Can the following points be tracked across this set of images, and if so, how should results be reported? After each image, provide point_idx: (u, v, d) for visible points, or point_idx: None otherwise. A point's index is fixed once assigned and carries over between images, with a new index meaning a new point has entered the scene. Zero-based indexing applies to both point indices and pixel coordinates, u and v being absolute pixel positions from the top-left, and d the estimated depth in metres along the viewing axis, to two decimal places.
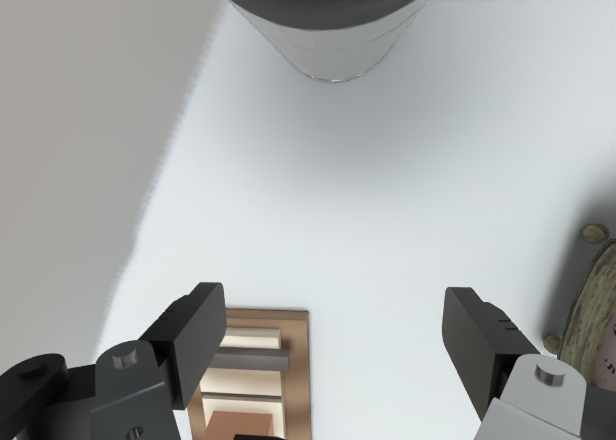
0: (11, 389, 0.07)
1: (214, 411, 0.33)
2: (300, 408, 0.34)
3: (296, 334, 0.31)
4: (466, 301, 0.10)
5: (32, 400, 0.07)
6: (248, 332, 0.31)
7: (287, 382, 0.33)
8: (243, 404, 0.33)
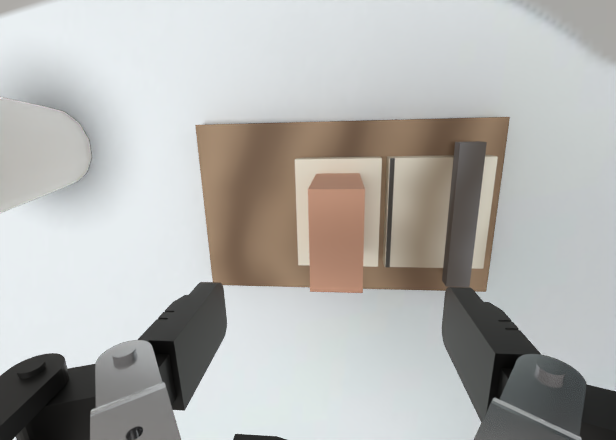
0: (11, 389, 0.07)
1: (357, 174, 0.23)
2: None
3: None
4: (466, 301, 0.10)
5: (32, 400, 0.07)
6: None
7: None
8: (373, 217, 0.24)
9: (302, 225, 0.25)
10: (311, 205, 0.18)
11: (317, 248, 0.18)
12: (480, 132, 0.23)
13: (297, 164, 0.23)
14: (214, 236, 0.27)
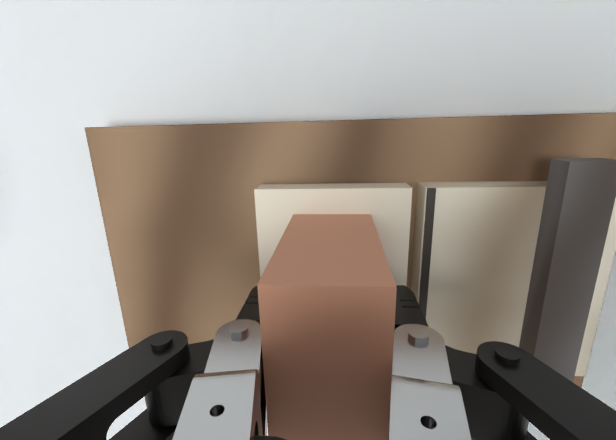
0: (142, 357, 0.08)
1: (366, 216, 0.13)
2: None
3: None
4: None
5: (153, 374, 0.07)
6: None
7: None
8: None
9: None
10: (267, 319, 0.08)
11: (284, 408, 0.08)
12: (589, 140, 0.13)
13: (259, 198, 0.13)
14: (131, 308, 0.17)
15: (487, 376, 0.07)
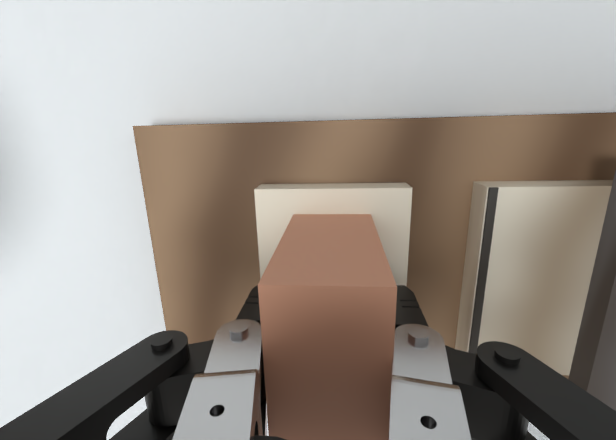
0: (142, 357, 0.08)
1: (366, 216, 0.13)
2: None
3: None
4: None
5: (153, 374, 0.07)
6: None
7: None
8: None
9: None
10: (268, 319, 0.08)
11: (285, 408, 0.08)
12: None
13: (259, 198, 0.13)
14: (173, 310, 0.16)
15: (487, 376, 0.07)
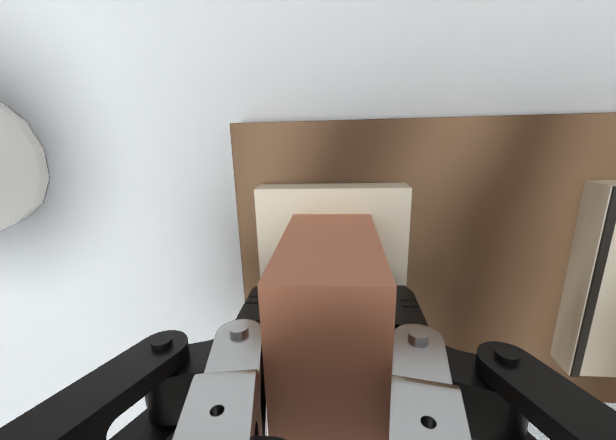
0: (142, 357, 0.08)
1: (366, 216, 0.13)
2: None
3: None
4: None
5: (153, 374, 0.07)
6: None
7: None
8: None
9: None
10: (267, 319, 0.08)
11: (284, 408, 0.08)
12: None
13: (259, 198, 0.13)
14: None
15: (487, 376, 0.07)
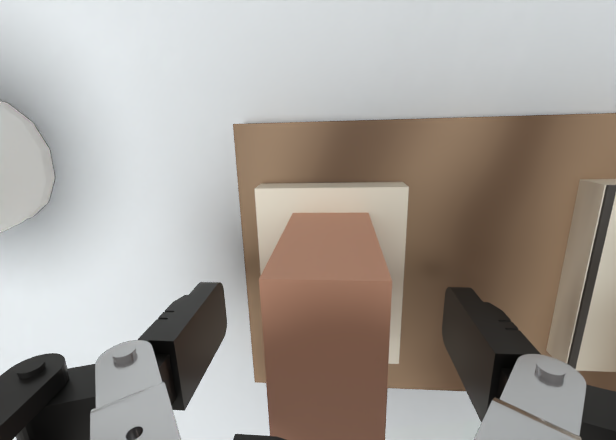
0: (11, 389, 0.07)
1: (364, 214, 0.13)
2: None
3: None
4: (466, 301, 0.10)
5: (32, 400, 0.07)
6: None
7: None
8: (391, 285, 0.14)
9: None
10: (268, 312, 0.08)
11: (285, 399, 0.08)
12: None
13: (259, 197, 0.13)
14: (259, 309, 0.16)
15: None
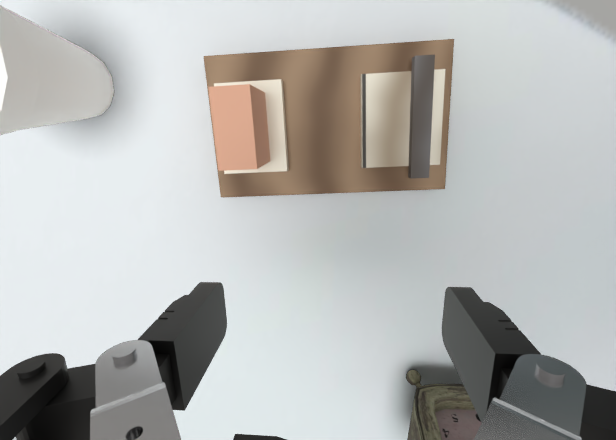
0: (11, 389, 0.07)
1: (263, 93, 0.29)
2: (335, 184, 0.32)
3: (428, 179, 0.32)
4: (466, 301, 0.10)
5: (32, 400, 0.07)
6: None
7: (368, 170, 0.32)
8: (279, 128, 0.30)
9: None
10: (212, 99, 0.24)
11: (220, 134, 0.25)
12: (432, 52, 0.29)
13: None
14: None
15: None
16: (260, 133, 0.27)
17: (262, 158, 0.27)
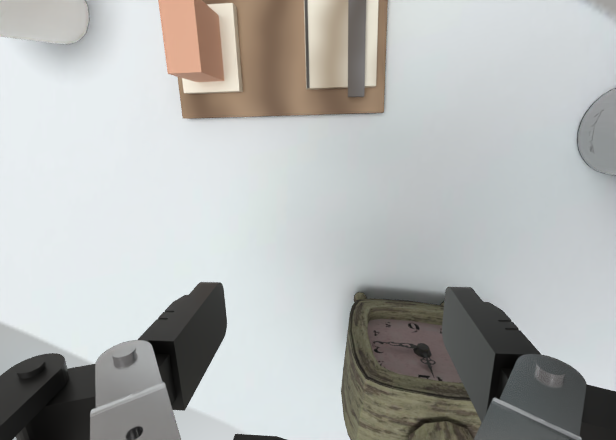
0: (11, 389, 0.07)
1: (217, 16, 0.33)
2: (284, 107, 0.36)
3: (369, 102, 0.35)
4: (466, 301, 0.10)
5: (32, 400, 0.07)
6: None
7: (314, 93, 0.35)
8: (231, 50, 0.33)
9: None
10: (161, 5, 0.27)
11: (168, 39, 0.28)
12: None
13: None
14: None
15: None
16: (208, 45, 0.30)
17: (210, 69, 0.31)
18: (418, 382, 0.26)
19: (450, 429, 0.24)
